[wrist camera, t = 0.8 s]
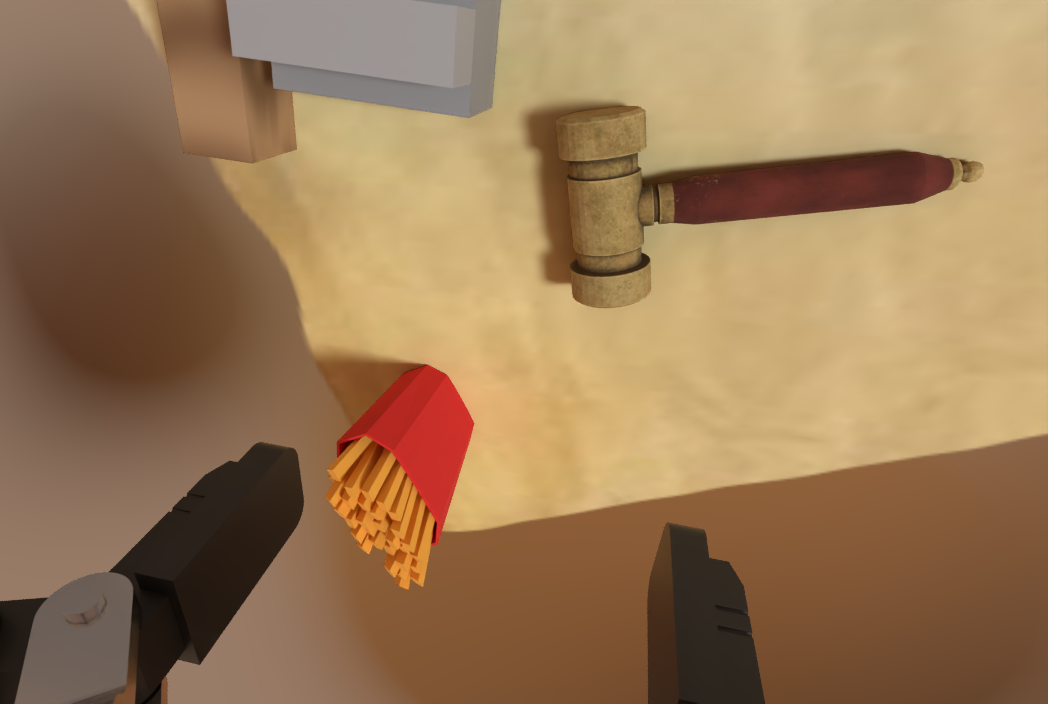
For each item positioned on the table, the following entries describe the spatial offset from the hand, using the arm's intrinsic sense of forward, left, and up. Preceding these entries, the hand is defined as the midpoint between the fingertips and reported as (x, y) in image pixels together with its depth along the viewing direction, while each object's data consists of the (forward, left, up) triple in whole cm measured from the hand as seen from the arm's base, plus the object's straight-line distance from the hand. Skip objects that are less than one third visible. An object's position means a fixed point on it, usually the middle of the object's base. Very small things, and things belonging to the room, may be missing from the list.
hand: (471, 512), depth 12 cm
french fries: (+16, -8, -25) cm, 31 cm away
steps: (-8, -11, -25) cm, 28 cm away
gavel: (-3, +9, -26) cm, 28 cm away
